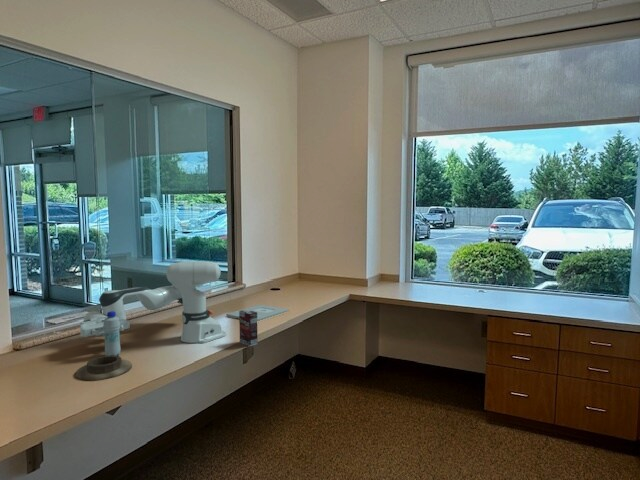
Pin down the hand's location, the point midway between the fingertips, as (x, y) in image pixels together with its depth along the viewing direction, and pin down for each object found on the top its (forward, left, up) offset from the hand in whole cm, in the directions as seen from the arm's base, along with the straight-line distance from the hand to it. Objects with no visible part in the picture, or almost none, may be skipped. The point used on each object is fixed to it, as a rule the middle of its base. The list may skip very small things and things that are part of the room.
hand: (110, 331), depth 185 cm
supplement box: (-53, +29, -11) cm, 62 cm away
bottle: (0, +1, -11) cm, 11 cm away
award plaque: (-89, -14, -11) cm, 91 cm away
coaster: (+8, +17, -11) cm, 22 cm away
